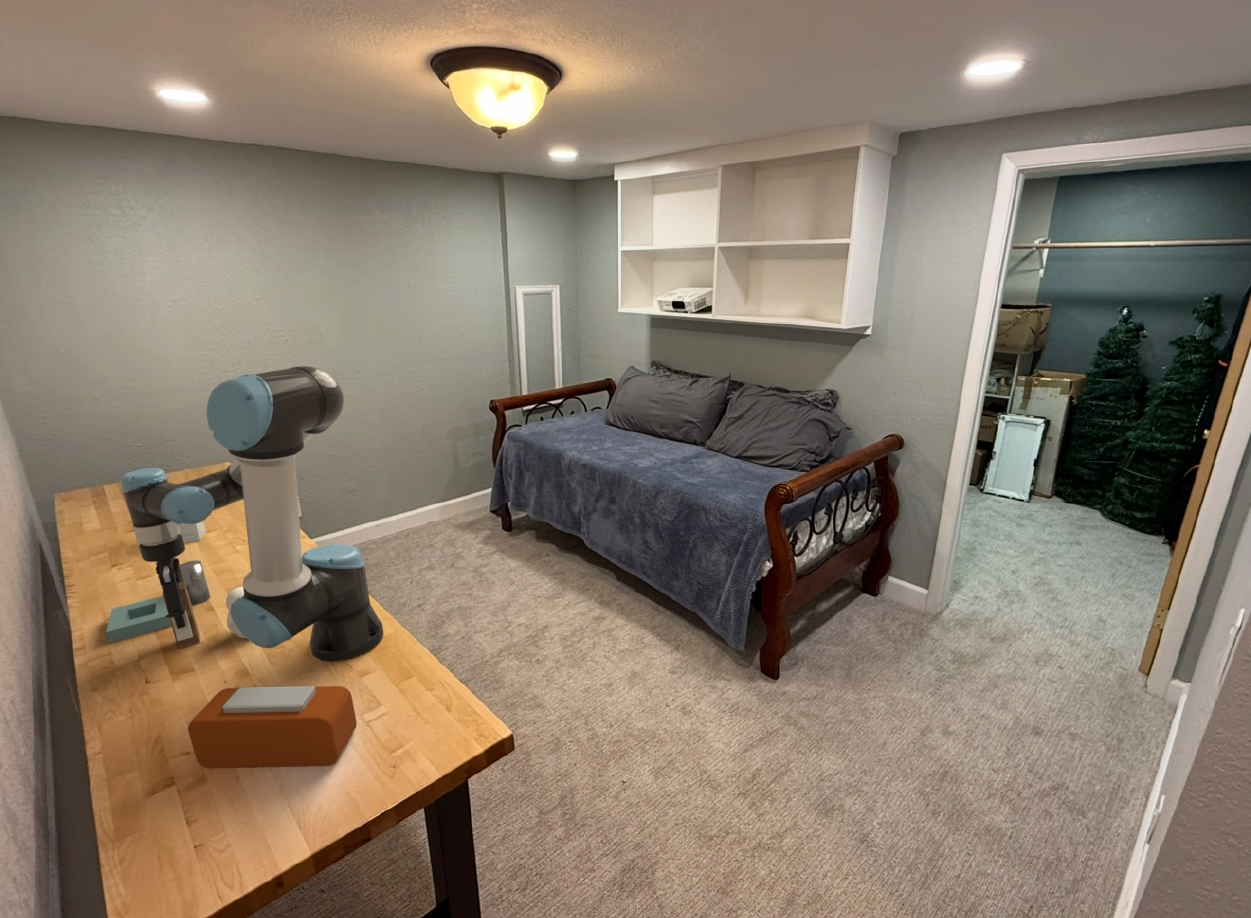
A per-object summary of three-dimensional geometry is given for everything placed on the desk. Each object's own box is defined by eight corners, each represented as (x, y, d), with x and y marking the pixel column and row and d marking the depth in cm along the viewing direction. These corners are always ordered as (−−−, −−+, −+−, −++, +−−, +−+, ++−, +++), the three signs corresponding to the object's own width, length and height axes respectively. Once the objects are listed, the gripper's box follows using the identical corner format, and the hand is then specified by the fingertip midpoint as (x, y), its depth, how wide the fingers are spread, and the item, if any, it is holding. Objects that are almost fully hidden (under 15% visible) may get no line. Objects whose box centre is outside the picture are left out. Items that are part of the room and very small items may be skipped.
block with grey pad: (359, 730, 109) (349, 679, 106) (338, 766, 101) (327, 712, 98) (228, 733, 109) (214, 681, 105) (198, 769, 101) (181, 715, 98)
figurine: (228, 643, 135) (216, 597, 132) (239, 625, 142) (228, 580, 139) (262, 638, 137) (252, 592, 133) (272, 620, 144) (262, 576, 140)
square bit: (199, 642, 136) (184, 588, 131) (178, 648, 134) (162, 594, 129) (199, 634, 139) (185, 581, 135) (178, 640, 137) (163, 586, 132)
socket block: (174, 625, 142) (171, 614, 142) (109, 643, 136) (106, 631, 135) (175, 603, 152) (172, 593, 151) (115, 619, 145) (111, 608, 144)
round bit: (210, 600, 153) (201, 566, 150) (187, 606, 150) (177, 572, 147) (210, 592, 157) (200, 558, 154) (187, 598, 154) (177, 564, 151)
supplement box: (200, 541, 187) (191, 504, 184) (173, 545, 185) (162, 507, 181) (206, 532, 194) (197, 496, 190) (180, 535, 191) (170, 499, 188)
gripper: (180, 552, 122) (206, 645, 129) (182, 518, 139) (204, 602, 146) (134, 562, 118) (163, 658, 125) (141, 526, 135) (166, 612, 142)
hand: (185, 628), depth 135 cm, fingers open, 9 cm apart
